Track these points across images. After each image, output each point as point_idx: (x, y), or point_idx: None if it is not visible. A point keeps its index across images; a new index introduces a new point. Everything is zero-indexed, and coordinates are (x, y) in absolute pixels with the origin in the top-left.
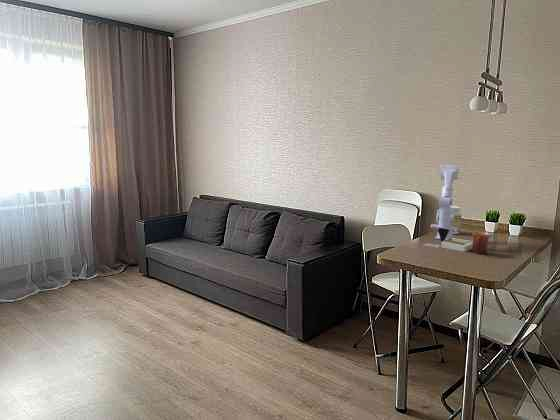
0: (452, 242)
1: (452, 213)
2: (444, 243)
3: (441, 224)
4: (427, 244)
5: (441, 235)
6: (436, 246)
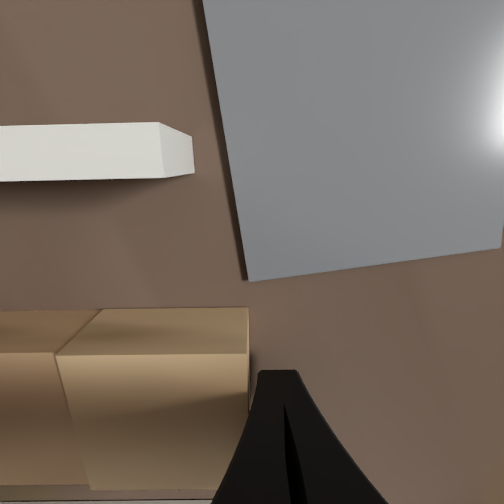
0: (70, 390)
1: None
2: (85, 129)
3: None
4: (467, 137)
5: (312, 493)
6: (269, 101)
